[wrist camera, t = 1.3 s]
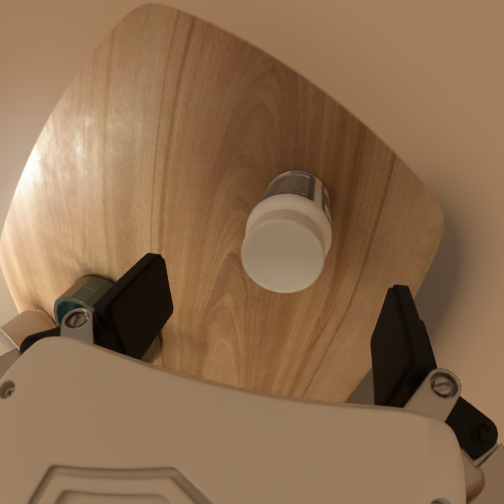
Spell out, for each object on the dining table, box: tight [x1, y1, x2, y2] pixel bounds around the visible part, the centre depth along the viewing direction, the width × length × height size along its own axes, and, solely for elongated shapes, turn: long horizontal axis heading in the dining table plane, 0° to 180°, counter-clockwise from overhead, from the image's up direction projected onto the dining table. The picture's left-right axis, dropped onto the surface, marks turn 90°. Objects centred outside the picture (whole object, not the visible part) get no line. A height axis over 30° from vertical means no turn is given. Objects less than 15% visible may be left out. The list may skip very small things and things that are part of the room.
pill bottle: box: [241, 171, 332, 293], centre depth 17 cm, size 5×5×8 cm
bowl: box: [54, 276, 161, 364], centre depth 31 cm, size 14×14×5 cm
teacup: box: [0, 309, 57, 352], centre depth 37 cm, size 12×15×10 cm
